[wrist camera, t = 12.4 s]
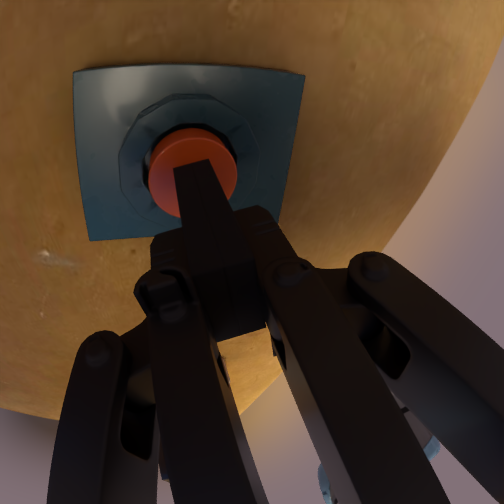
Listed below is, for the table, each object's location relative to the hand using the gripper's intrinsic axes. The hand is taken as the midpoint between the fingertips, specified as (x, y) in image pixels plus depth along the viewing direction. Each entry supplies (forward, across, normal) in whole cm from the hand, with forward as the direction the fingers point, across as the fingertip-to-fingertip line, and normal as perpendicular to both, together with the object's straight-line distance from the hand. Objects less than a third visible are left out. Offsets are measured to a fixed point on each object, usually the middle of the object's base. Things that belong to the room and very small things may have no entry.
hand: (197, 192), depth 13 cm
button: (+3, 0, 0) cm, 3 cm away
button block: (+6, 0, 0) cm, 6 cm away
